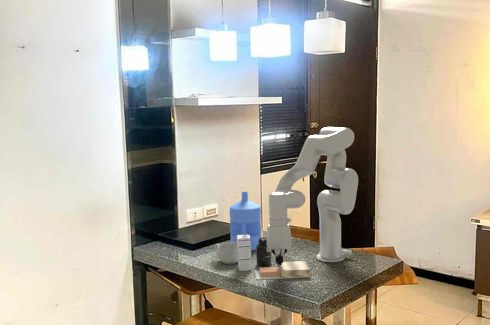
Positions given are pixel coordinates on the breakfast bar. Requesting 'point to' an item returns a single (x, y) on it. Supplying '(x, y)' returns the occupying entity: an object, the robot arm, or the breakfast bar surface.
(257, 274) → the mat
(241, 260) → the syrup box
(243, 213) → the water jug
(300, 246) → the breakfast bar surface
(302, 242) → the breakfast bar surface
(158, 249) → the breakfast bar surface
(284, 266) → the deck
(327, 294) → the breakfast bar surface
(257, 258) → the supplement bottle
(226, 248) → the teacup
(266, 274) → the tile
